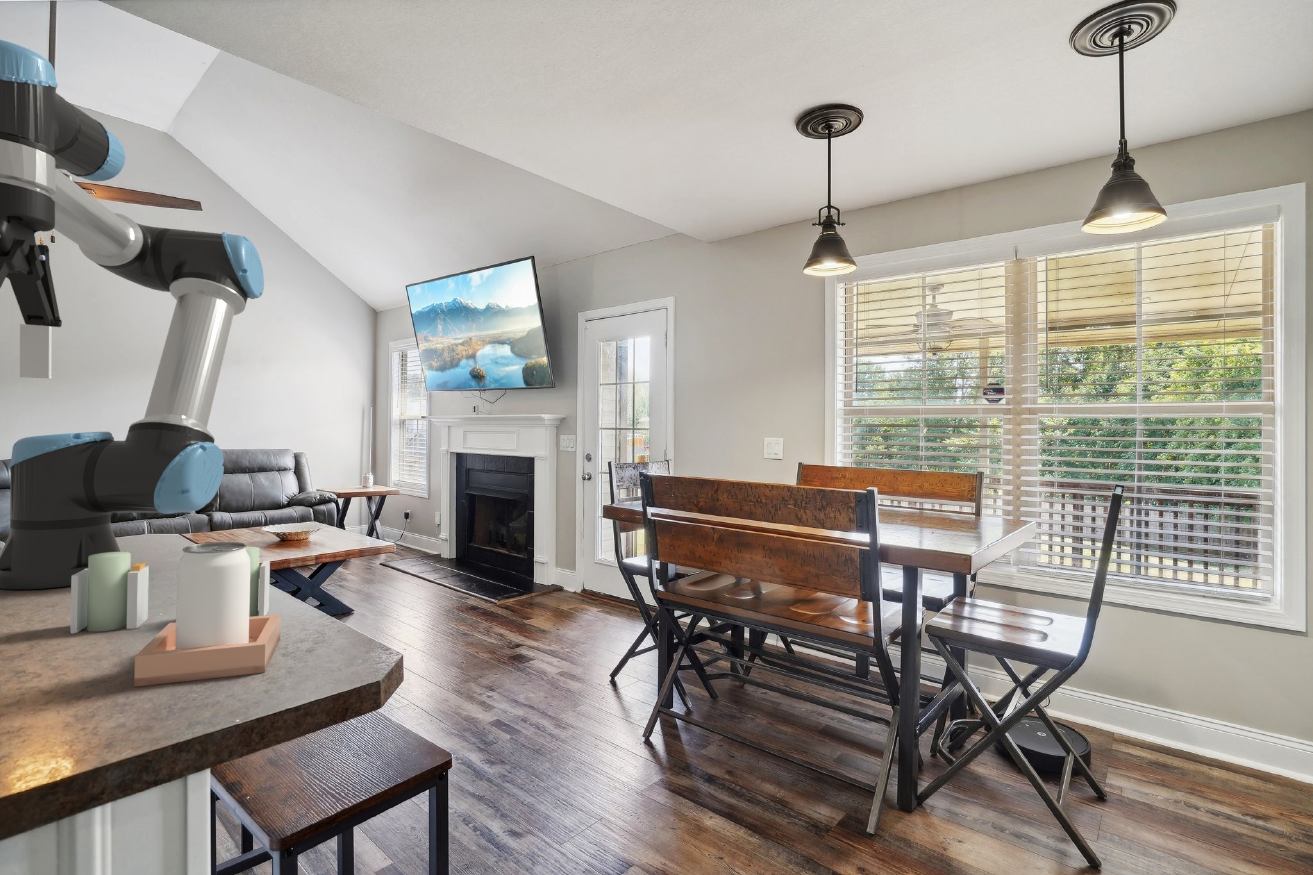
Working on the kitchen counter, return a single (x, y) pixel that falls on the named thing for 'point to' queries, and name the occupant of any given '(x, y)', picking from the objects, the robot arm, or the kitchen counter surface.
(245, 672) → the tray
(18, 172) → the robot arm
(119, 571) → the peg
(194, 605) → the can
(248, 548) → the green piece
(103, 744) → the kitchen counter surface
